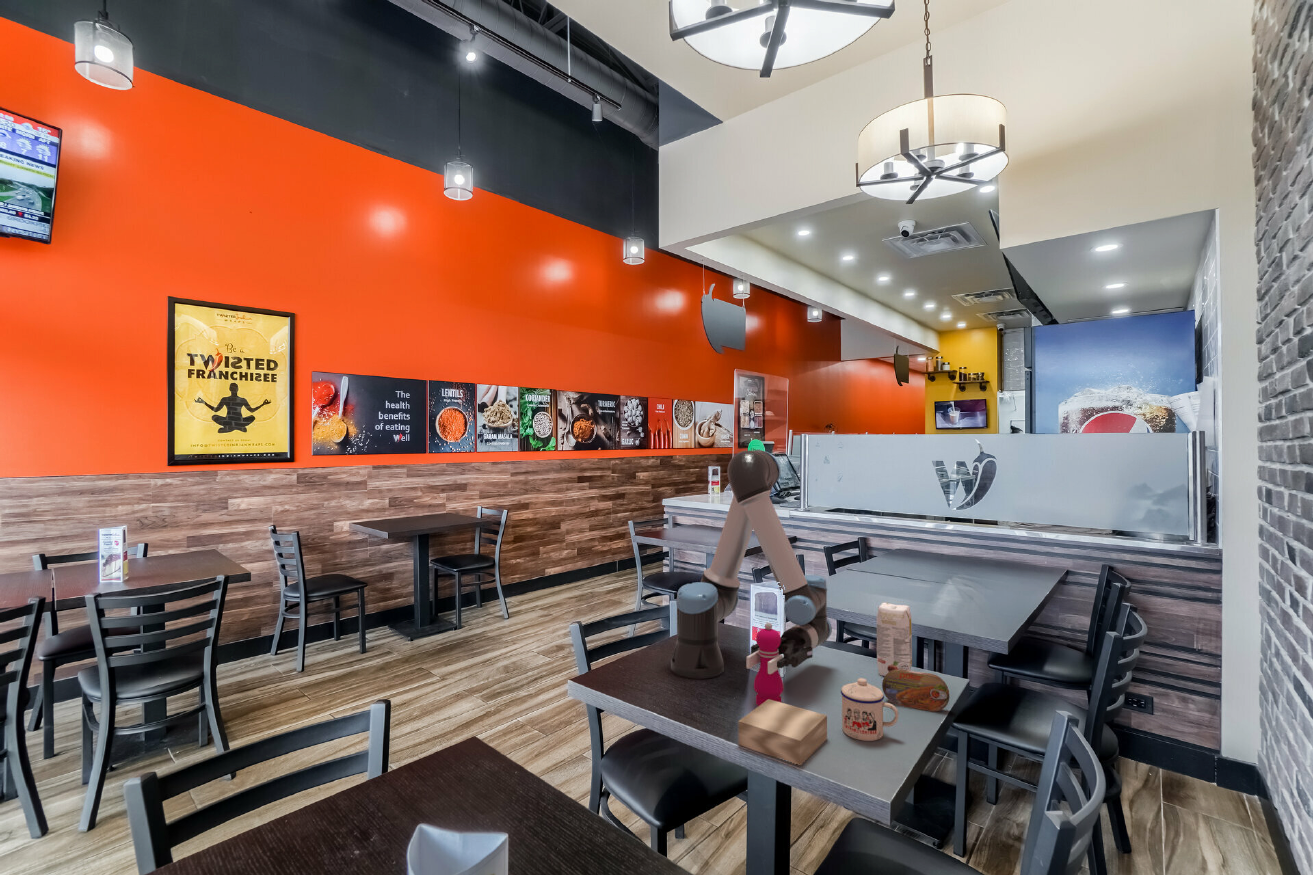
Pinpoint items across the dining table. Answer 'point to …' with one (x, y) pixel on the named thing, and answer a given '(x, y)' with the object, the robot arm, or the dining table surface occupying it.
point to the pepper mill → (764, 682)
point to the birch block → (783, 731)
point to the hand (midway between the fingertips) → (758, 665)
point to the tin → (916, 690)
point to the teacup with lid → (864, 711)
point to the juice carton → (894, 638)
